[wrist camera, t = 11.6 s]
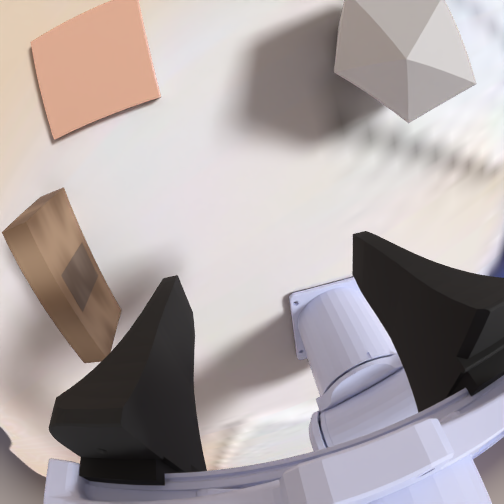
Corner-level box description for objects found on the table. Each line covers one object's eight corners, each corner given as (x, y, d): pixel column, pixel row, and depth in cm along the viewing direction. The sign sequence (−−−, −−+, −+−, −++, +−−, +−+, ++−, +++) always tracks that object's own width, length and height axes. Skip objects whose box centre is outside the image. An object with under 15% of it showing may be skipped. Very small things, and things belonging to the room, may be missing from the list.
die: (303, 96, 18) (431, 171, 14) (285, -23, 11) (471, 26, 6) (370, 59, 20) (476, 115, 15) (368, -34, 12) (503, 12, 7)
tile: (159, 97, 16) (135, -9, 12) (54, 139, 16) (30, 42, 12) (162, 96, 17) (138, -4, 13) (61, 136, 17) (38, 43, 13)
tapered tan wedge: (121, 309, 25) (108, 360, 20) (99, 313, 25) (84, 363, 20) (64, 186, 19) (26, 221, 14) (41, 196, 19) (1, 232, 13)
